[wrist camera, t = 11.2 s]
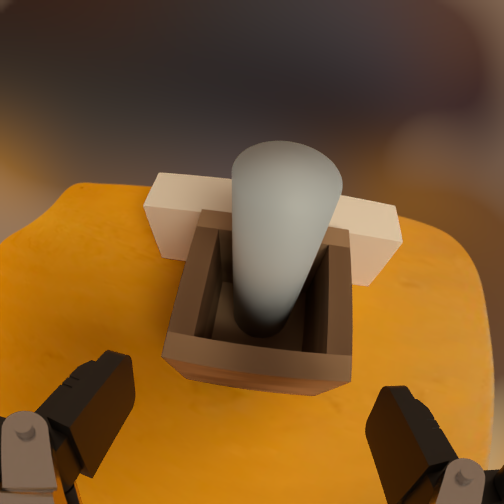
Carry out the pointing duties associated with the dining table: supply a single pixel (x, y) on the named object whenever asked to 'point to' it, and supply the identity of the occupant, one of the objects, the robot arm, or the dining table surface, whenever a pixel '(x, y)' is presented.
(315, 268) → the open wooden box
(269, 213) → the gray cylinder
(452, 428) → the dining table surface
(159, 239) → the rail
